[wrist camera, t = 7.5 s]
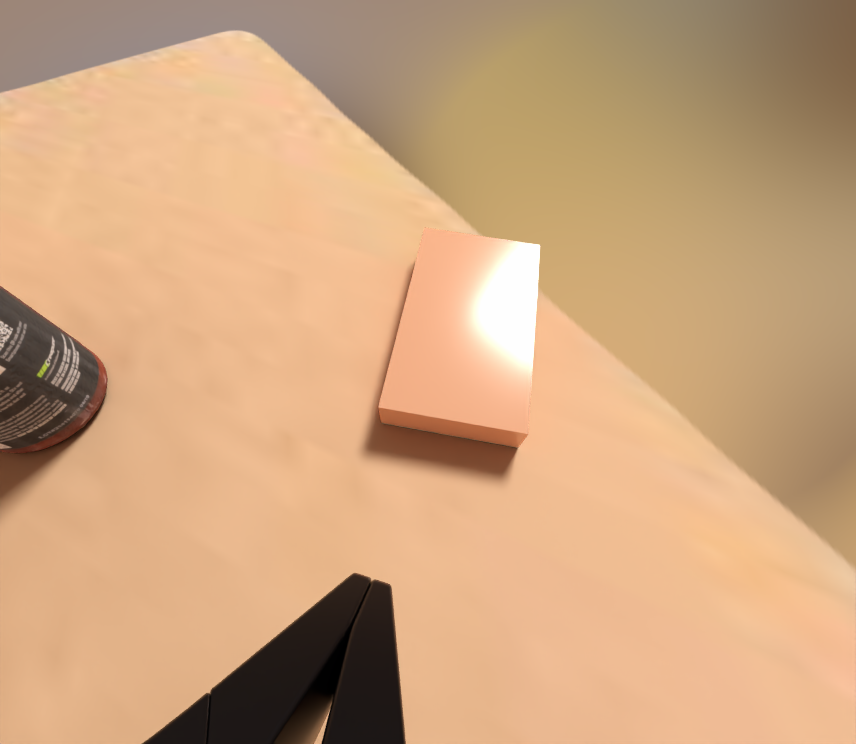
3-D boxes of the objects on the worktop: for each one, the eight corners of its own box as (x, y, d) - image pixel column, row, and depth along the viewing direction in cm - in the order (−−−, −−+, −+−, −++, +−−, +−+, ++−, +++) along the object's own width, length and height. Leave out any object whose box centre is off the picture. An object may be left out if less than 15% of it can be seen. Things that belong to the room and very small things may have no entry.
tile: (528, 434, 18) (540, 245, 24) (378, 407, 19) (424, 227, 24) (516, 450, 20) (529, 273, 26) (381, 426, 21) (423, 257, 27)
